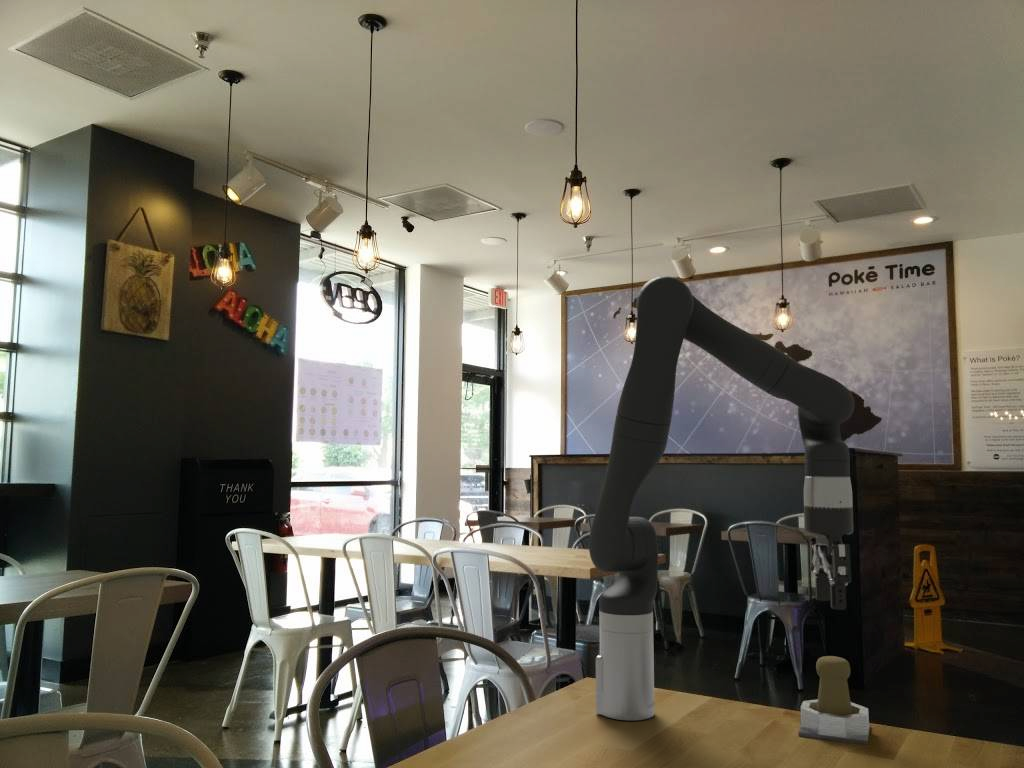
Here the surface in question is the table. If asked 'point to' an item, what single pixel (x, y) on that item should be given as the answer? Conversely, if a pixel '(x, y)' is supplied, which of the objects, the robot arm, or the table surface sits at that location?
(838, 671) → the cork
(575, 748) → the table surface
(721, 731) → the table surface
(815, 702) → the duct collar
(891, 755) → the table surface
